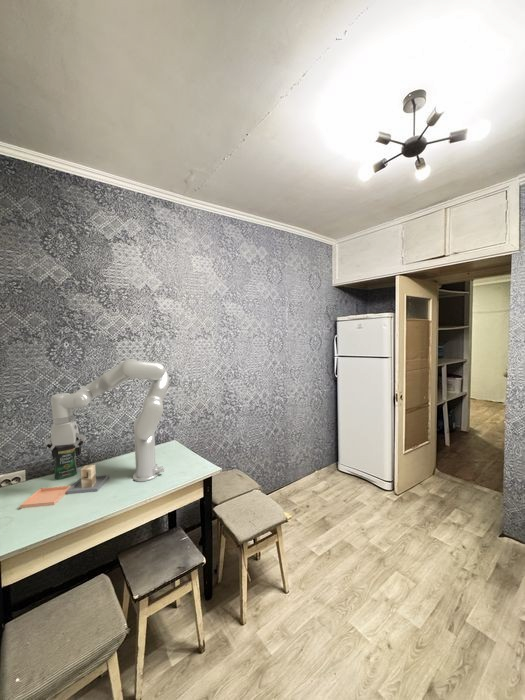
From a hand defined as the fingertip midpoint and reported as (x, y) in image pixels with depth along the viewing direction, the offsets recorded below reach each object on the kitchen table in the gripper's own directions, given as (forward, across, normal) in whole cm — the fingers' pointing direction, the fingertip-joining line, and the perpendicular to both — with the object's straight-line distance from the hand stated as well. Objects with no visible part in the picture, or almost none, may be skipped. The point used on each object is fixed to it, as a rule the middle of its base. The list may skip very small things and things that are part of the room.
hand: (67, 456), depth 128 cm
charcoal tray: (+18, -6, -4) cm, 19 cm away
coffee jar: (+18, +10, -17) cm, 27 cm away
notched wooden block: (+17, -6, -4) cm, 19 cm away
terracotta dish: (+17, +8, +4) cm, 19 cm away
